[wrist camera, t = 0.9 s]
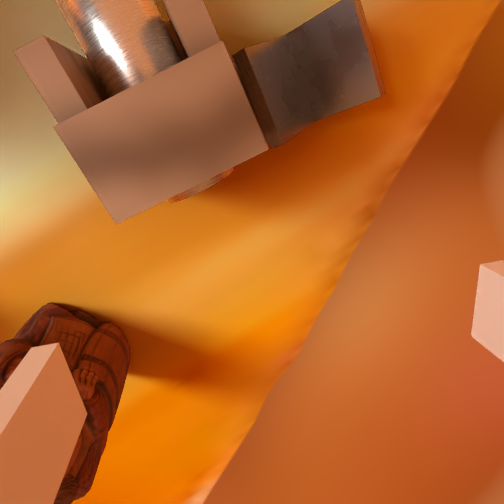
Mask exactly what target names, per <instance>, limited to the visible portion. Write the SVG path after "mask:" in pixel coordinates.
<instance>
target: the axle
mask: <svg viewBox="0 0 504 504" xmlns="http://www.w3.org/2000/svg"><path fill="white" fill-rule="evenodd" d="M55 1H56V3H57V5H58V7H59V8H60V10H61V12H62V14H63V15H64V17H65V19H66V21H67V23H68V24H69V26H70V28H71V30H72V31H73V33H74V35H75V37H76V38H77V40H78V42H79V44H80V46H81V47H82V49H83V51H84V53H85V54H86V56H87V58H88V60H89V61H90V63H91V65H92V67H93V69H94V70H95V72H96V74H97V76H98V77H99V79H100V81H101V83H102V84H103V86H104V88H105V90H106V92H107V93H108V95H109V97H112V96H114V95H116V94H118V93H120V92H122V91H124V90H126V89H128V88H130V87H132V86H134V85H136V84H138V83H140V82H142V81H144V80H146V79H148V78H150V77H152V76H154V75H156V74H158V73H160V72H162V71H164V70H166V69H168V68H170V67H171V66H173V65H175V64H177V63H179V62H181V61H182V59H181V57H180V55H179V52H178V50H177V48H176V46H175V44H174V42H173V40H172V38H171V36H170V33H169V31H168V29H167V27H166V25H165V23H164V21H163V19H162V16H161V14H160V12H159V10H158V8H157V6H156V4H155V2H154V0H55ZM233 170H234V169H233V167H232V168H230V169H228V170H226V171H224V172H222V173H220V174H218V175H216V176H214V177H212V178H210V179H208V180H206V181H204V182H202V183H200V184H198V185H196V186H193V187H191V188H189V189H187V190H185V191H183V192H181V193H179V194H177V195H175V196H173V197H171V198H169V199H167V200H168V201H169V202H170V203H172V202H177V201H180V200H183V199H185V198H188V197H190V196H192V195H195V194H197V193H199V192H201V191H203V190H205V189H207V188H209V187H211V186H212V185H214V184H216V183H218V182H219V181H221V180H223V179H224V178H226V177H227V176H228V175H230V174H231V173H232V172H233Z"/></svg>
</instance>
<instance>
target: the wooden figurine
mask: <svg viewBox="0 0 504 504" xmlns="http://www.w3.org/2000/svg"><path fill="white" fill-rule="evenodd" d="M54 343H59V345H60V347H61V350H62V352H63V355H64V357H65V360H66V362H67V365H68V367H69V370H70V372H71V375H72V377H73V379H74V382H75V384H76V387H77V389H78V392H79V394H80V397H81V399H82V402H83V404H84V407H85V409H86V412H87V416H86V419H85V422H84V424H83V427H82V429H81V432H80V435H79V437H78V440H77V443H76V445H75V448H74V451H73V453H72V456H71V458H70V461H69V464H68V466H67V469H66V472H65V474H64V477H63V479H62V482H61V485H60V487H59V490H58V493H57V495H56V498H55V501H54V503H53V504H71V503H72V502H73V500H76V499H79V498H81V497H83V496H85V495H86V494H87V492H88V491H89V490H90V488H91V486H92V484H93V481H94V477H95V474H96V471H97V468H98V465H99V462H100V458H101V456H102V454H103V451H104V449H105V446H106V442H107V436H108V431H109V430H110V428H111V426H112V424H113V421H114V418H115V415H116V411H117V408H118V405H119V402H120V398H121V395H122V391H123V388H124V384H125V380H126V375H127V372H128V367H129V360H130V349H129V346H128V343H127V339H126V337H125V336H124V334H123V333H122V331H121V330H120V329H119V328H118V327H117V326H116V325H114V324H113V323H111V322H107V323H101V322H99V321H98V320H97V319H96V318H94V317H93V316H90V315H88V314H87V313H85V312H83V311H80V310H75V311H73V312H71V313H70V312H69V311H67V310H65V309H63V308H61V307H60V306H58V305H54V304H52V303H48V304H46V305H44V306H43V307H41V308H40V309H39V310H38V311H37V312H36V313H34V314H33V316H32V317H31V318H30V319H29V320H28V321H27V322H26V323H25V325H24V326H23V327H22V328H21V329H20V330H19V331H18V333H17V334H16V336H15V337H14V339H11V340H7V341H5V342H3V343H1V344H0V390H1V388H2V387H3V386H4V384H5V383H6V381H7V380H8V379H9V377H10V376H11V375H12V373H13V372H14V371H15V369H16V368H17V366H18V365H19V364H20V362H21V361H22V360H23V358H24V357H25V356H26V354H27V353H28V351H29V350H30V349H31V348H32V347H38V346H43V345H49V344H54Z"/></svg>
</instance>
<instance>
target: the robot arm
mask: <svg viewBox="0 0 504 504" xmlns="http://www.w3.org/2000/svg"><path fill="white" fill-rule="evenodd" d="M471 336H472V337H473V338H474V339H475V340H477V341H478V342H479V343H480V344H482V345H483V346H484V347H485V348H487V349H488V350H489V351H490V352H492V353H493V354H494V355H495V356H497V357H498V358H499V359H501V360H502V361H503V362H504V261H502V260H501V261H496V262H490V263H485V264H480V269H479V277H478V284H477V292H476V300H475V309H474V316H473V324H472V332H471ZM86 416H87V412H86V409H85V407H84V404H83V402H82V399H81V397H80V394H79V392H78V389H77V387H76V384H75V382H74V379H73V377H72V375H71V372H70V370H69V367H68V365H67V362H66V360H65V357H64V355H63V352H62V350H61V347H60V345H59V343H54V344H49V345H43V346H38V347H32V348H31V349H30V350H29V351H28V353H27V354H26V356H25V357H24V358H23V360H22V361H21V362H20V364H19V365H18V366H17V368H16V369H15V371H14V372H13V373H12V375H11V376H10V377H9V379H8V380H7V381H6V383H5V384H4V386H3V387H2V388H1V390H0V504H53V503H54V501H55V498H56V495H57V493H58V490H59V487H60V485H61V482H62V479H63V477H64V474H65V472H66V469H67V466H68V464H69V461H70V458H71V456H72V453H73V451H74V448H75V445H76V443H77V440H78V437H79V435H80V432H81V429H82V427H83V424H84V422H85V419H86Z"/></svg>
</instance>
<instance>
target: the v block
mask: <svg viewBox="0 0 504 504" xmlns="http://www.w3.org/2000/svg"><path fill="white" fill-rule="evenodd" d="M232 57H233V59H234V61H235V62H233V66H234V68H235V71H236V73H237V75H238V78H239V80H240V82H241V85H242V87H243V89H244V92H245V94H246V97H247V99H248V101H249V104H250V106H251V108H252V111H253V113H254V115H255V118H256V120H257V123H258V125H259V127H260V130H261V132H262V134H263V137H264V139H265V141H266V143H267V144H268V143H269V145H270V147H271V149H272V148H274V147H277V146H280V145H283V144H285V143H286V142H287V141H289V140H290V139H292V138H293V137H294V136H296V135H297V134H299V133H300V132H301V131H303V130H304V129H306V128H307V127H308V126H310V125H311V124H313V123H314V122H315V121H317V120H320V119H323V118H325V117H328V116H331V115H333V114H336V113H339V112H341V111H344V110H347V109H349V108H352V107H355V106H357V105H360V104H363V103H365V102H368V101H370V100H373V99H376V98H378V97H381V96H382V95H383V94H385V93H386V91H385V88H384V84H383V80H382V77H381V73H380V70H379V66H378V62H377V59H376V55H375V52H374V48H373V44H372V41H371V37H370V34H369V30H368V26H367V23H366V19H365V16H364V12H363V8H362V5H361V1H360V0H341V1H340V2H338V3H336V4H335V5H333V6H331V7H330V8H328V9H327V10H325V11H323V12H322V13H320V14H319V15H317V16H315V17H314V18H312V19H310V20H309V21H307V22H306V23H304V24H302V25H301V26H299V27H298V28H296V29H294V30H293V31H291V32H289V33H288V34H286V35H284V36H281V37H278V38H275V39H272V40H268V41H265V42H262V43H259V44H256V45H253V46H250V47H246V48H244V49H242V50H241V51H239V52H238V53H236V54H235V55H233V56H232Z"/></svg>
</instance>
